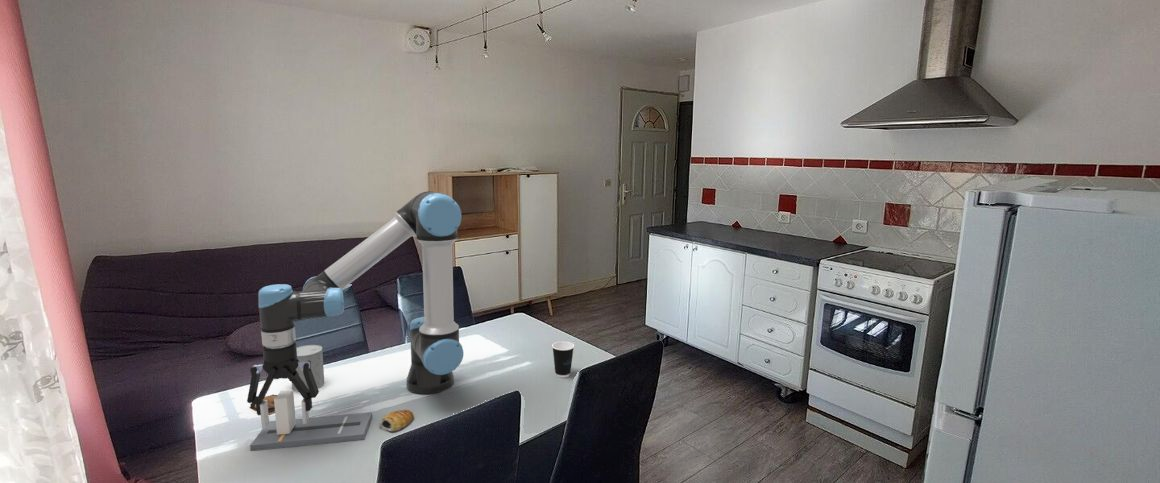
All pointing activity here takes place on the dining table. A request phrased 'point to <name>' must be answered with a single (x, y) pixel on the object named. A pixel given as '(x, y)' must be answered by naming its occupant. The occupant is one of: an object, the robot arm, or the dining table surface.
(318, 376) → the grey concrete cylinder
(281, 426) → the fader tab
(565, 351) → the dixie cup
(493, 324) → the dining table surface
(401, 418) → the pastry
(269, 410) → the wood slice
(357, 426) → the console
